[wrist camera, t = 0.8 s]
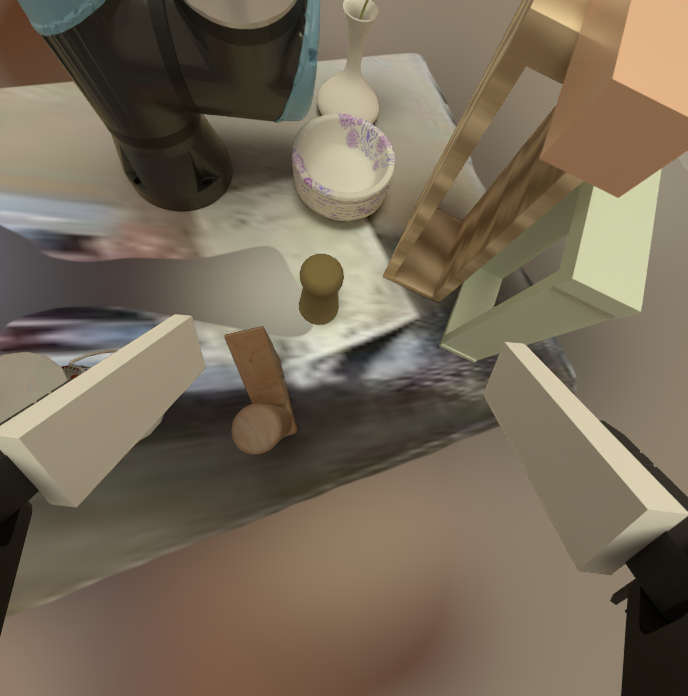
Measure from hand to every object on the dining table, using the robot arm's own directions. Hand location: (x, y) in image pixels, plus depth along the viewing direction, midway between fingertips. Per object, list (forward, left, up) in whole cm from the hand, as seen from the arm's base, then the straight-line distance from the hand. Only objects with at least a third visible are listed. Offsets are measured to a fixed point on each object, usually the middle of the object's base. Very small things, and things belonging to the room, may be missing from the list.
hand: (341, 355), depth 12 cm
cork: (-13, +1, -27) cm, 30 cm away
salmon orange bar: (-18, +18, +3) cm, 25 cm away
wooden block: (0, -6, -27) cm, 28 cm away
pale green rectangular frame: (-12, +26, -27) cm, 40 cm away
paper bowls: (-33, +6, -27) cm, 44 cm away
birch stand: (-22, +20, -27) cm, 40 cm away
